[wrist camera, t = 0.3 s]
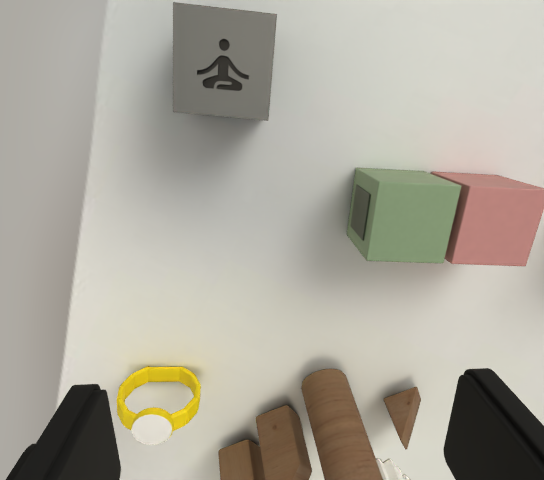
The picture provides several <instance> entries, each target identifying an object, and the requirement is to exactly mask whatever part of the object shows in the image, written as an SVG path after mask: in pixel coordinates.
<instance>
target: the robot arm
mask: <svg viewBox="0 0 544 480" xmlns="http://www.w3.org/2000/svg"><path fill="white" fill-rule="evenodd" d="M444 457H445V460H446V463H447V465H448V467H449V468H450V470H451V472H452V474H453V476H454V477H455V479H456V480H544V426H543V425H542V423H541V422H540V421H539V420H538V419H537V418H536V417H535V416H534V415H533V414H532V413H531V412H530V410H529V409H528V408H527V407H526V406H525V405H524V404H523V403H522V402H521V401H520V400H519V398H518V397H517V396H516V395H515V394H514V393H513V392H512V391H511V390H510V389H509V388H508V386H507V385H506V384H505V383H504V382H503V381H502V380H501V379H500V378H499V377H498V376H497V374H496V373H495V372H494V371H492V370H491V369H488V368H485V369H468V370H466V371H465V372H464V375H461V376H460V377H459V379H458V384H457V389H456V393H455V398H454V403H453V407H452V412H451V417H450V421H449V426H448V431H447V435H446V440H445V445H444ZM120 472H121V466H120V460H119V454H118V449H117V444H116V438H115V433H114V428H113V422H112V417H111V412H110V406H109V401H108V396H107V392H106V390H100V387H99V385H98V384H87V385H74V386H72V387H71V388H70V390H69V391H68V393H67V395H66V396H65V398H64V399H63V401H62V403H61V404H60V406H59V407H58V409H57V411H56V412H55V414H54V416H53V417H52V419H51V420H50V422H49V424H48V425H47V427H46V429H45V430H44V432H43V433H42V435H41V436H40V438H39V440H38V441H37V443H36V444H32V445H30V446H29V447H28V448H27V449H26V450H25V452H23V454H22V455H21V457H20V458H19V460H18V462H17V463H16V465H15V466H14V468H13V469H12V471H11V472H10V474H9V475H8V477H7V479H6V480H119V478H120Z"/></svg>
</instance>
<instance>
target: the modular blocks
mask: <svg viewBox="0 0 544 480" xmlns="http://www.w3.org/2000/svg"><path fill="white" fill-rule="evenodd" d="M376 461H377V464H378V467H379V470H380V473H381V475H382V478H383V480H410V479H409V478H408V477H407V476H406V475H403V476H402V473H401V471H400V469H399V468H398V466H397V465H396V464H395V463H394V462H393V461H392V460H391V459H389V460H387V461H386V462H384V463H382V461H381V460H380V459H379V458H378V459H376Z"/></svg>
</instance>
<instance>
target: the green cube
mask: <svg viewBox="0 0 544 480" xmlns="http://www.w3.org/2000/svg"><path fill="white" fill-rule="evenodd" d="M460 190H461V185H458V184H456V183H453V182H451V181H448V180H445V179H443V178H440V177H437V176H435V175H432V174H430V173H427V172H424V171H408V170H390V169H371V168H356V170H355V178H354V185H353V192H352V200H351V207H350V214H349V222H348V229H347V236H348V237H349V238H350V240H351V241H352V242H353V244H354V245H355V246H356V247H357V249H358V250H359V251H360V253H361V254H362V255H363V257H364V258H365V259H366V261H387V262H417V263H443V262H444V258H445V254H446V250H447V245H448V241H449V237H450V233H451V228H452V224H453V220H454V216H455V211H456V207H457V203H458V198H459V194H460Z"/></svg>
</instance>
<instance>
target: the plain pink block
mask: <svg viewBox="0 0 544 480" xmlns="http://www.w3.org/2000/svg"><path fill="white" fill-rule="evenodd" d="M431 174H432V175H435V176H437V177H440V178H443V179H445V180H448V181H451V182H453V183H456V184H458V185H461V190H460V194H459V198H458V203H457V207H456V211H455V216H454V220H453V224H452V228H451V233H450V237H449V241H448V245H447V250H446V254H445V259H446V260H447V261H449V262H450V263H451V264H475V265H505V266H526V263H527V260H528V257H529V254H530V251H531V247H532V244H533V241H534V238H535V235H536V232H537V228H538V225H539V222H540V219H541V216H542V213H543V209H544V188H540V187H537V186H533V185H530V184H526V183H523V182H519V181H516V180H512V179H509V178H505V177H502V176H498V175H483V174H464V173H446V172H432V173H431Z"/></svg>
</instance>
